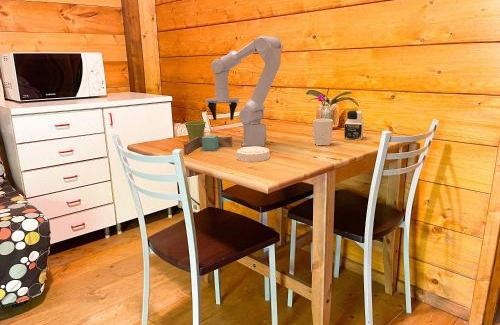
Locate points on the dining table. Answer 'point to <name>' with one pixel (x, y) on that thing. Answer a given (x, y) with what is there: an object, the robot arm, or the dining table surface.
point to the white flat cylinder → (253, 154)
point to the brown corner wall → (197, 143)
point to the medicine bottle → (354, 126)
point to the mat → (211, 150)
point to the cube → (210, 142)
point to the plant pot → (195, 129)
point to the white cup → (322, 131)
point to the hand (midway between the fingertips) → (223, 119)
